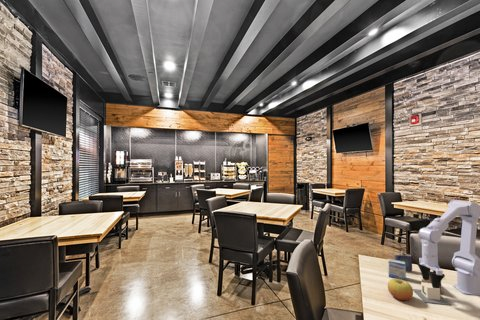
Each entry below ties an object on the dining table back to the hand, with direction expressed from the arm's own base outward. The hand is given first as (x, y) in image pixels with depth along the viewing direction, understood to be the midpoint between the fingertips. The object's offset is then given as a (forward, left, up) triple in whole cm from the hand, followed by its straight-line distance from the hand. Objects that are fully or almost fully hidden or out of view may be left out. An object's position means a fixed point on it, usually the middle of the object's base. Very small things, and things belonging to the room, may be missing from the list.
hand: (430, 283), depth 108 cm
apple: (+14, +3, -7) cm, 16 cm away
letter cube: (0, 0, -6) cm, 6 cm away
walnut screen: (-6, -10, -6) cm, 13 cm away
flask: (-1, -29, -7) cm, 30 cm away
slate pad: (0, 0, -6) cm, 6 cm away
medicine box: (+7, -19, -7) cm, 21 cm away
